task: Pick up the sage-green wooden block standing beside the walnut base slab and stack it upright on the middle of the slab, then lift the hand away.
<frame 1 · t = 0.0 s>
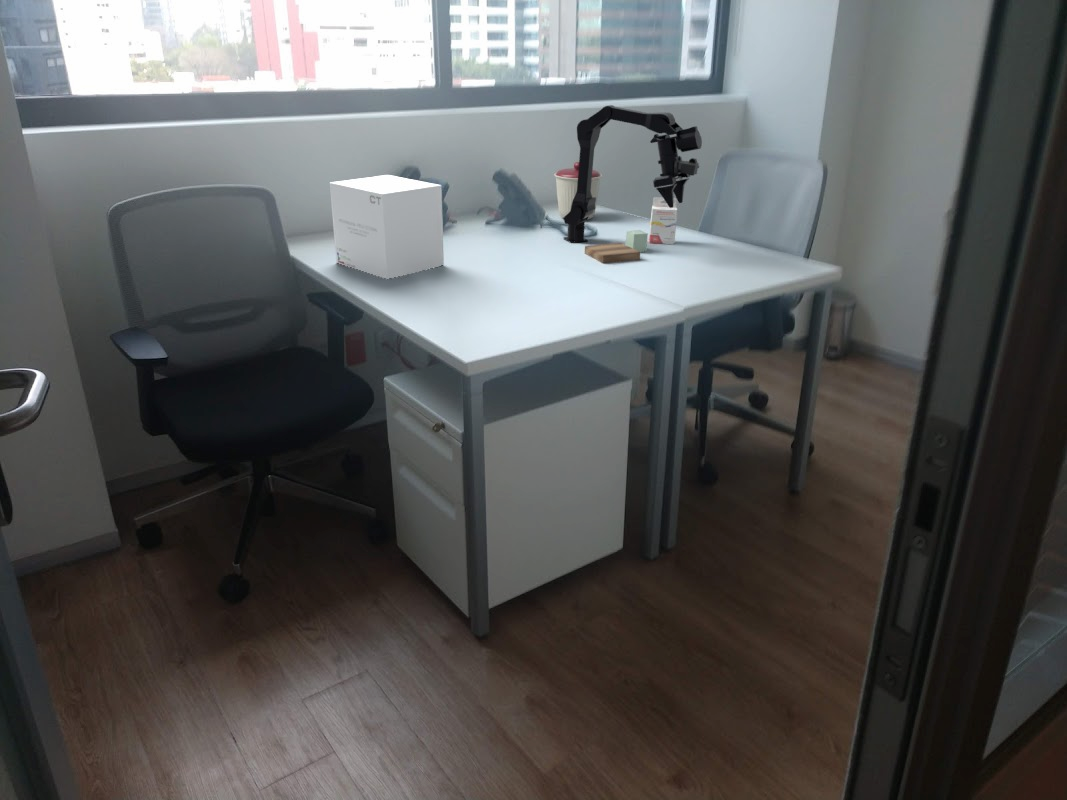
hand: (676, 205, 257), 15 cm above the table, tool pointing down, fingers open, 9 cm apart
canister: (576, 218, 311), on the table
sage block: (635, 250, 266), on the table
cube: (390, 266, 246), on the table
walnut base: (611, 258, 258), on the table
ink cartridge box: (661, 242, 277), on the table
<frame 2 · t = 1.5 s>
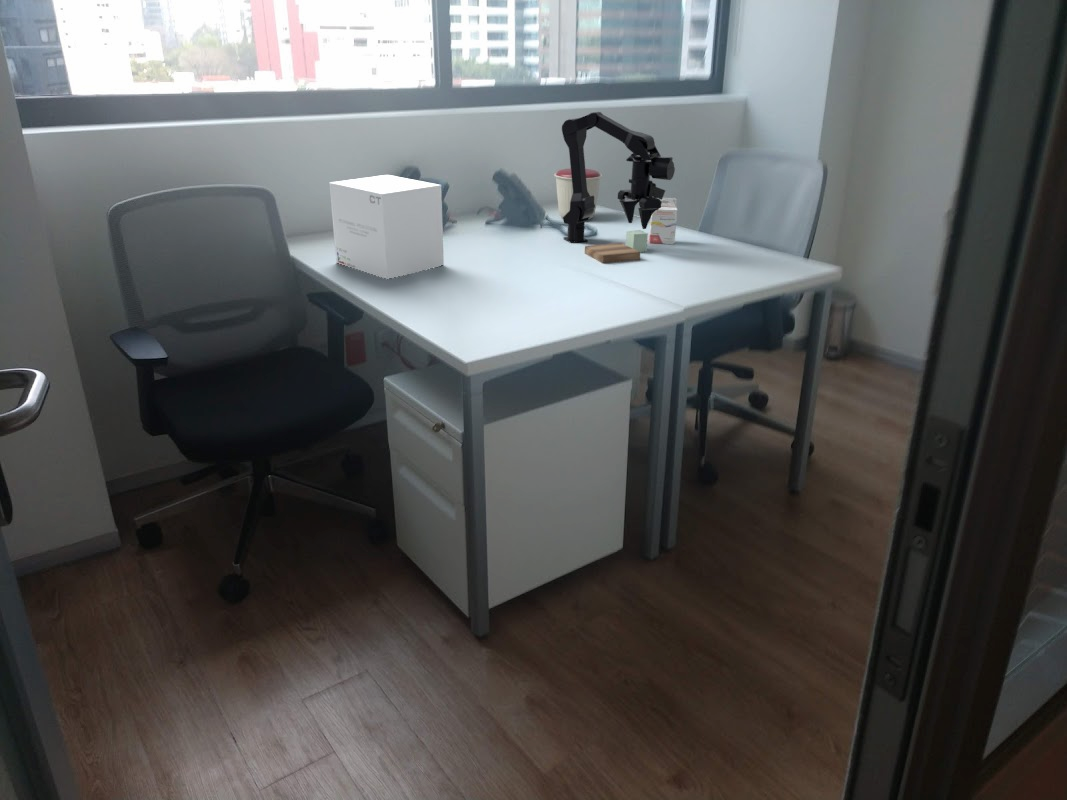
hand: (637, 225, 263), 8 cm above the table, tool pointing down, fingers open, 9 cm apart
nothing on the table moved.
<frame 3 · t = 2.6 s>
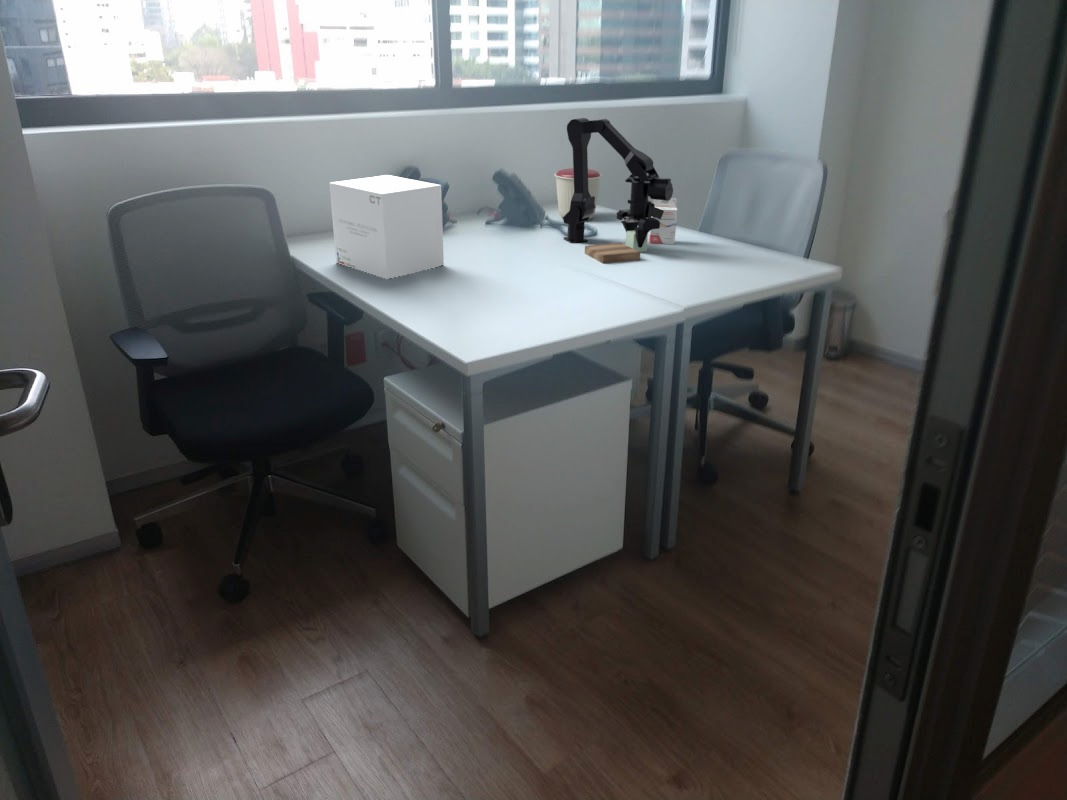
hand: (636, 245, 266), 2 cm above the table, tool pointing down, fingers closed on sage block, 5 cm apart
sage block: (635, 250, 266), on the table, touching gripper
everything else where it was.
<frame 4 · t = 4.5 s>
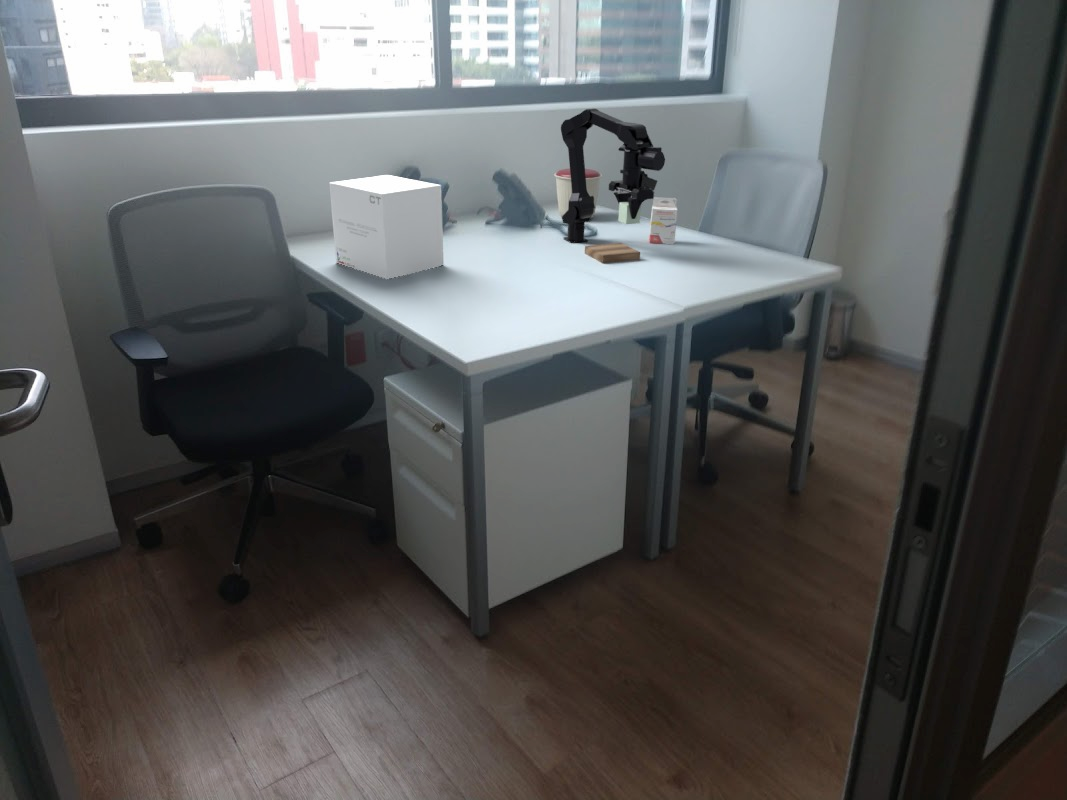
hand: (629, 217, 258), 11 cm above the table, tool pointing down, fingers closed on sage block, 5 cm apart
sage block: (629, 222, 259), point 10 cm above the table, touching gripper
everything else where it was.
when the fingers open (6 cm above the table, at t = 6.3 s): sage block drops 2 cm, resting on walnut base.
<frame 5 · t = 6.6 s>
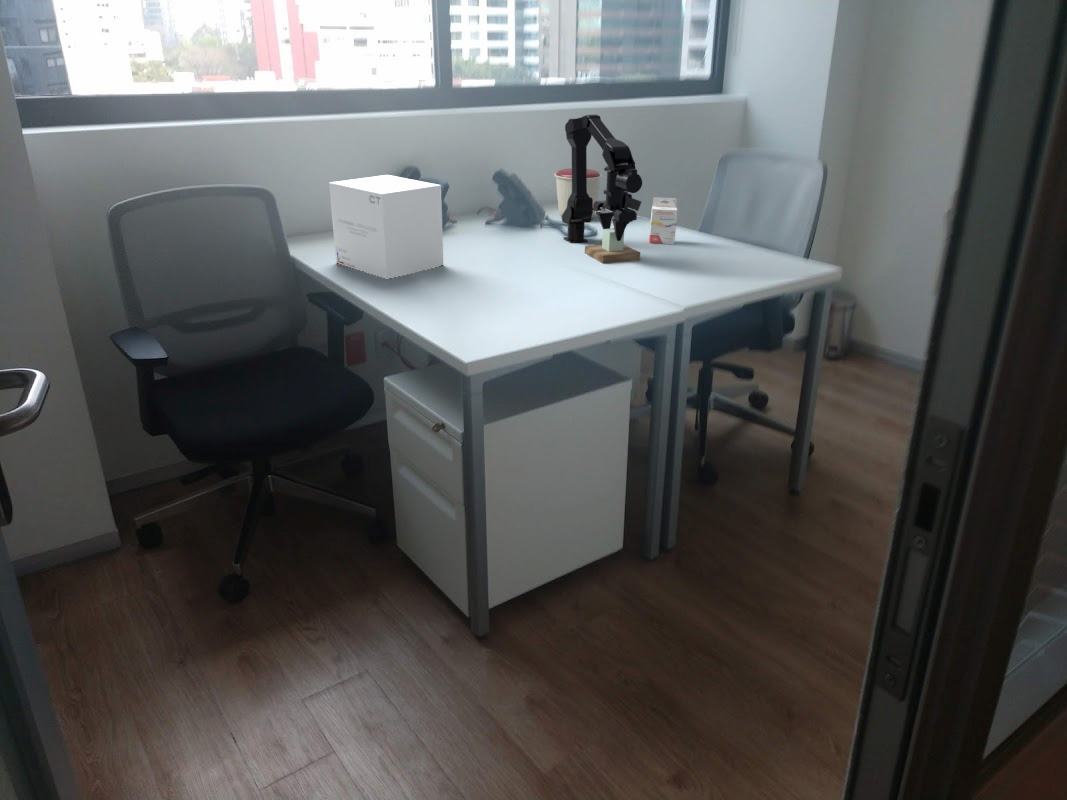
hand: (612, 237, 256), 6 cm above the table, tool pointing down, fingers open, 8 cm apart
sage block: (612, 249, 257), point 2 cm above the table, touching walnut base
walnut base: (611, 258, 258), on the table, touching sage block
everything else where it was.
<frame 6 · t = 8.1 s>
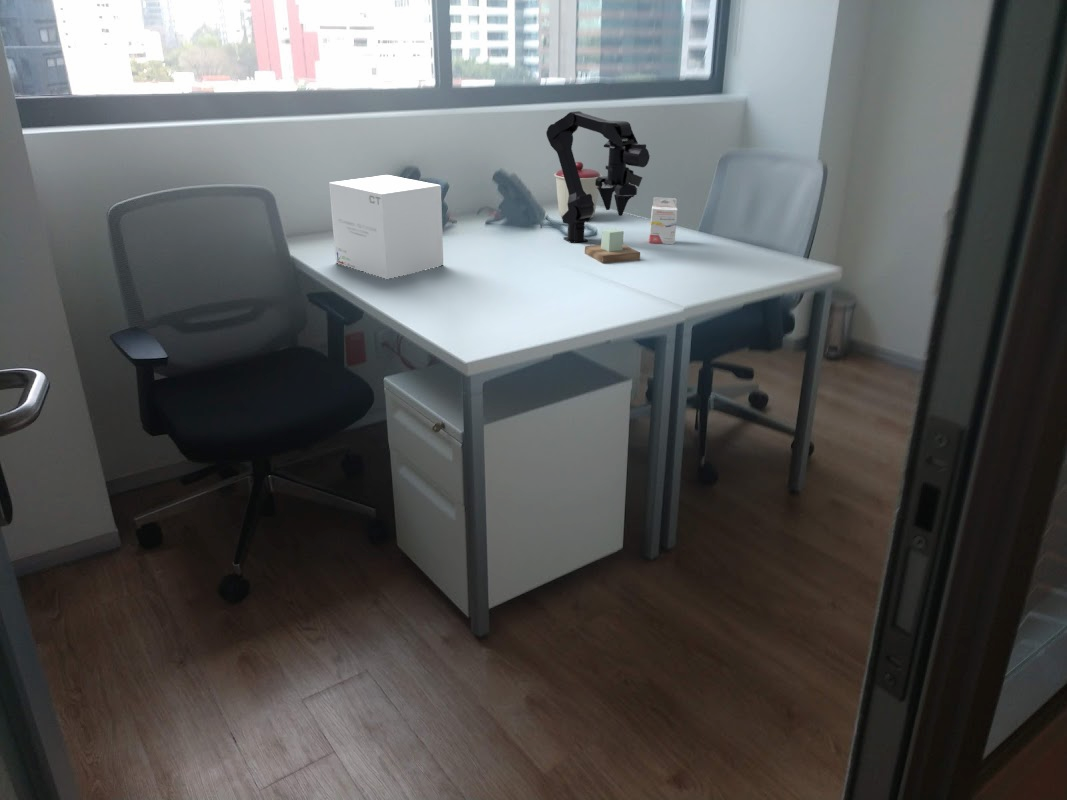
hand: (614, 212, 263), 12 cm above the table, tool pointing down, fingers open, 9 cm apart
sage block: (611, 249, 257), point 2 cm above the table
walnut base: (611, 258, 258), on the table
everything else where it was.
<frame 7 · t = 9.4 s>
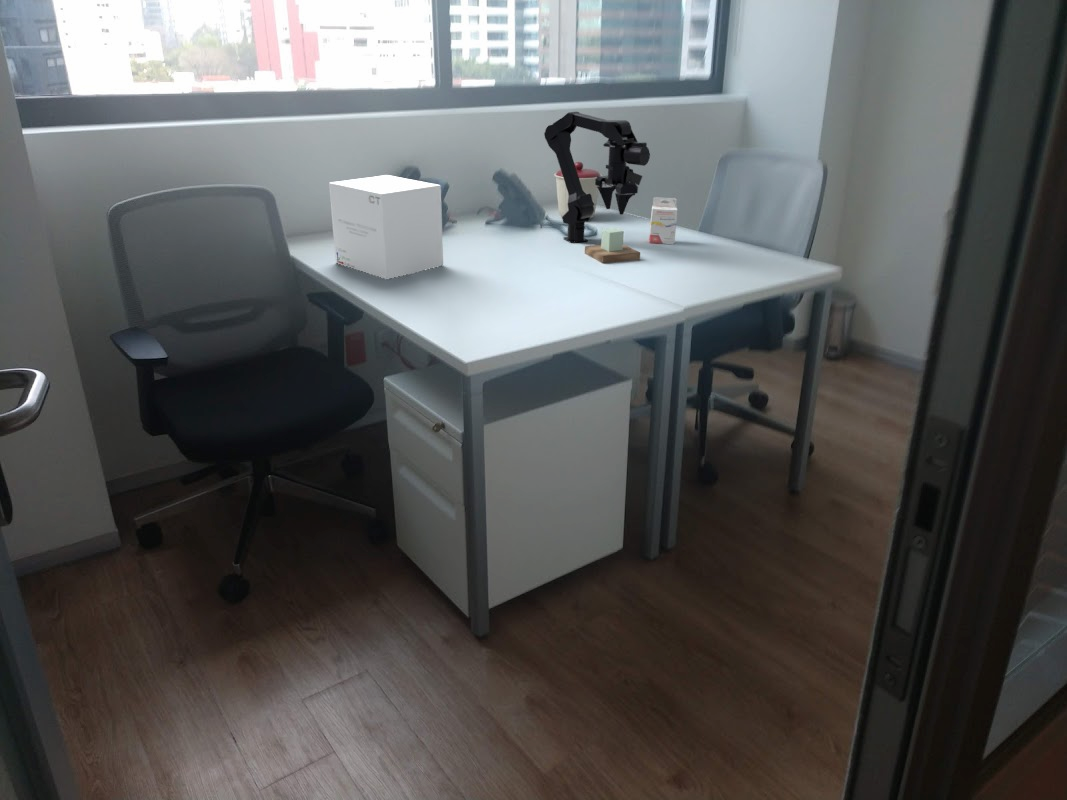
hand: (614, 211, 263), 12 cm above the table, tool pointing down, fingers open, 9 cm apart
nothing on the table moved.
at the end: sage block 0.1 cm off-centre on the walnut base, point 3.0 cm above the walnut base's base; sage block tilted 1°; the gripper is holding nothing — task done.
